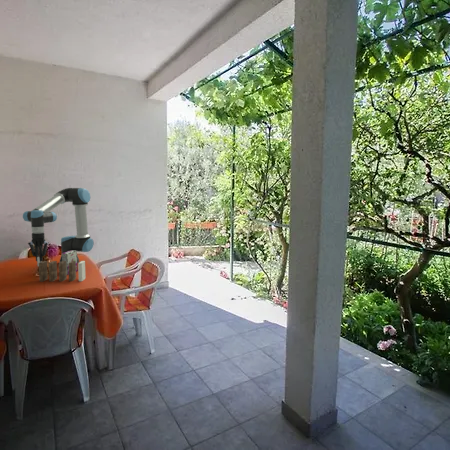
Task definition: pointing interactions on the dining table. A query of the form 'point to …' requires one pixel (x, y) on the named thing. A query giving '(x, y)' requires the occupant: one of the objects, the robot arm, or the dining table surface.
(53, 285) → the dining table surface
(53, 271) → the tile
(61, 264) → the grey brown jagged slab
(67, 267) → the candy bar box
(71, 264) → the tile
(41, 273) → the tile
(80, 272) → the tile
